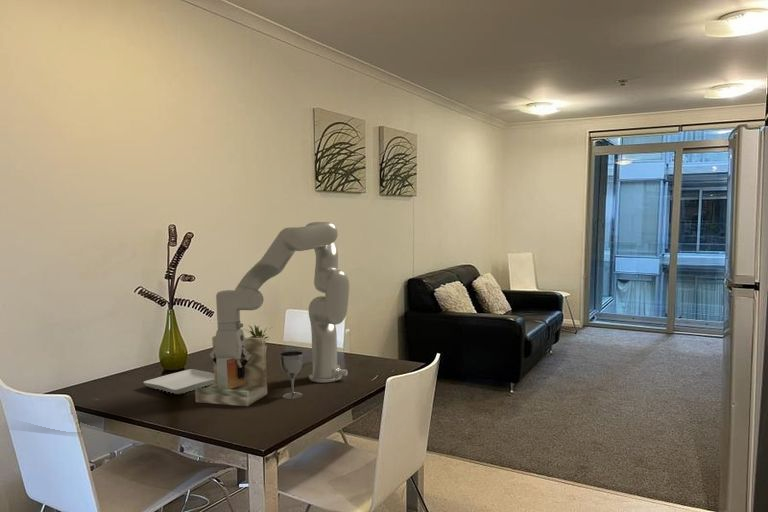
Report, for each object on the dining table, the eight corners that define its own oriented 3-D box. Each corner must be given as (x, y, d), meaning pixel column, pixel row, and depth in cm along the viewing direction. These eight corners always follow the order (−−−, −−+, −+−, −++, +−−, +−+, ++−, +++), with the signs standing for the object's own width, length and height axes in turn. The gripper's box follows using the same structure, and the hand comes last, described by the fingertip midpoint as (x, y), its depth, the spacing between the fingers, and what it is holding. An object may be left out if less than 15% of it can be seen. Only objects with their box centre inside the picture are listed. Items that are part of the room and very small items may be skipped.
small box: (227, 390, 186) (226, 360, 185) (217, 388, 189) (215, 358, 188) (246, 384, 192) (244, 354, 192) (235, 381, 196) (234, 352, 195)
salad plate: (191, 376, 221) (190, 367, 221) (225, 383, 209) (224, 375, 209) (141, 390, 204) (141, 381, 204) (176, 399, 192) (175, 390, 192)
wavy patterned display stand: (267, 393, 194) (264, 338, 193) (247, 406, 182) (245, 346, 180) (218, 390, 200) (215, 336, 199) (195, 402, 188) (192, 344, 186)
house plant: (233, 360, 242) (231, 324, 241) (257, 354, 254) (255, 319, 252) (255, 365, 234) (253, 327, 233) (279, 357, 245) (277, 321, 244)
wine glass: (294, 400, 186) (292, 357, 185) (276, 397, 190) (274, 354, 189) (309, 394, 193) (307, 352, 192) (292, 390, 197) (290, 349, 196)
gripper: (257, 325, 190) (259, 375, 192) (213, 323, 195) (216, 372, 197) (245, 329, 183) (248, 381, 184) (200, 327, 188) (203, 379, 190)
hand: (231, 376), depth 191 cm, fingers closed on small box, 6 cm apart
